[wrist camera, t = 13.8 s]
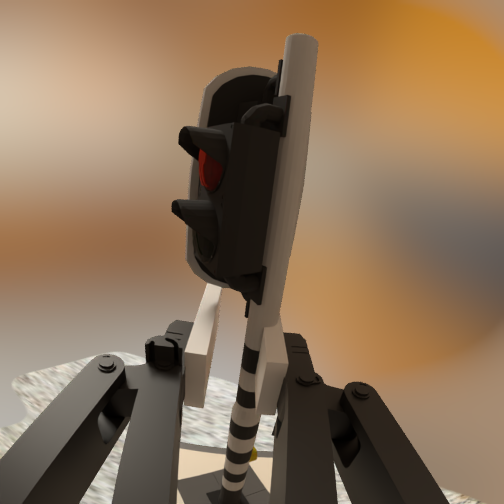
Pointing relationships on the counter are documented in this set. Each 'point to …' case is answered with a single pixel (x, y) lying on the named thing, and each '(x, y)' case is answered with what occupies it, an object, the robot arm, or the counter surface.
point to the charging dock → (217, 463)
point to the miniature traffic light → (247, 225)
